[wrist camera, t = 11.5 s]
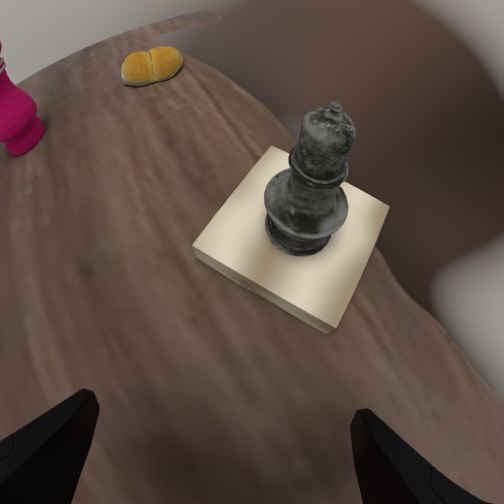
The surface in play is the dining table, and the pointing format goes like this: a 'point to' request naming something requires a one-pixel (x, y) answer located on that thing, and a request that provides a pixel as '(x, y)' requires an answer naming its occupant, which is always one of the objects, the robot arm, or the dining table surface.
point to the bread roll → (151, 66)
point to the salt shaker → (311, 184)
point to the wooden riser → (284, 265)
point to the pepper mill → (17, 116)
